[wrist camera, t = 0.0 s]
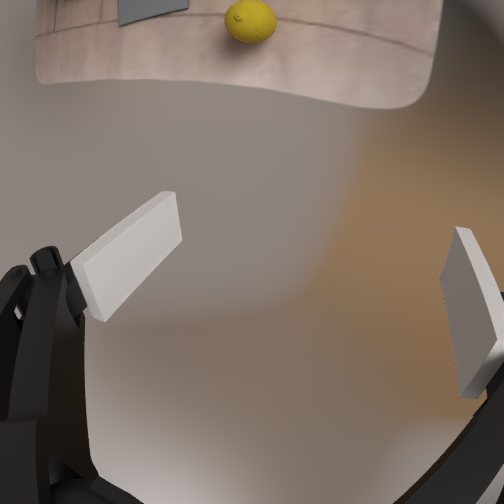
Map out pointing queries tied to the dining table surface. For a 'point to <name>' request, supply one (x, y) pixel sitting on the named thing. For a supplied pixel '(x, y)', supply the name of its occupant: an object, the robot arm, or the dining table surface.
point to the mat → (147, 9)
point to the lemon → (250, 21)
